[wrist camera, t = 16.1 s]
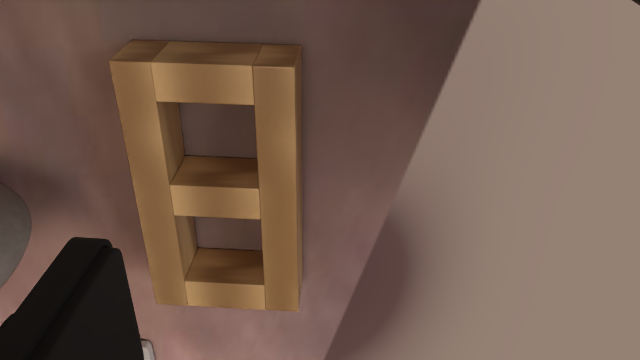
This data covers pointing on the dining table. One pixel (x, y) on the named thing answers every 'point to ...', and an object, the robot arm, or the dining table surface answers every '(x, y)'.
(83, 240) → the robot arm
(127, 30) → the dining table surface
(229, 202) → the frame
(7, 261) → the planter
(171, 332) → the dining table surface
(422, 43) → the dining table surface
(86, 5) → the dining table surface
